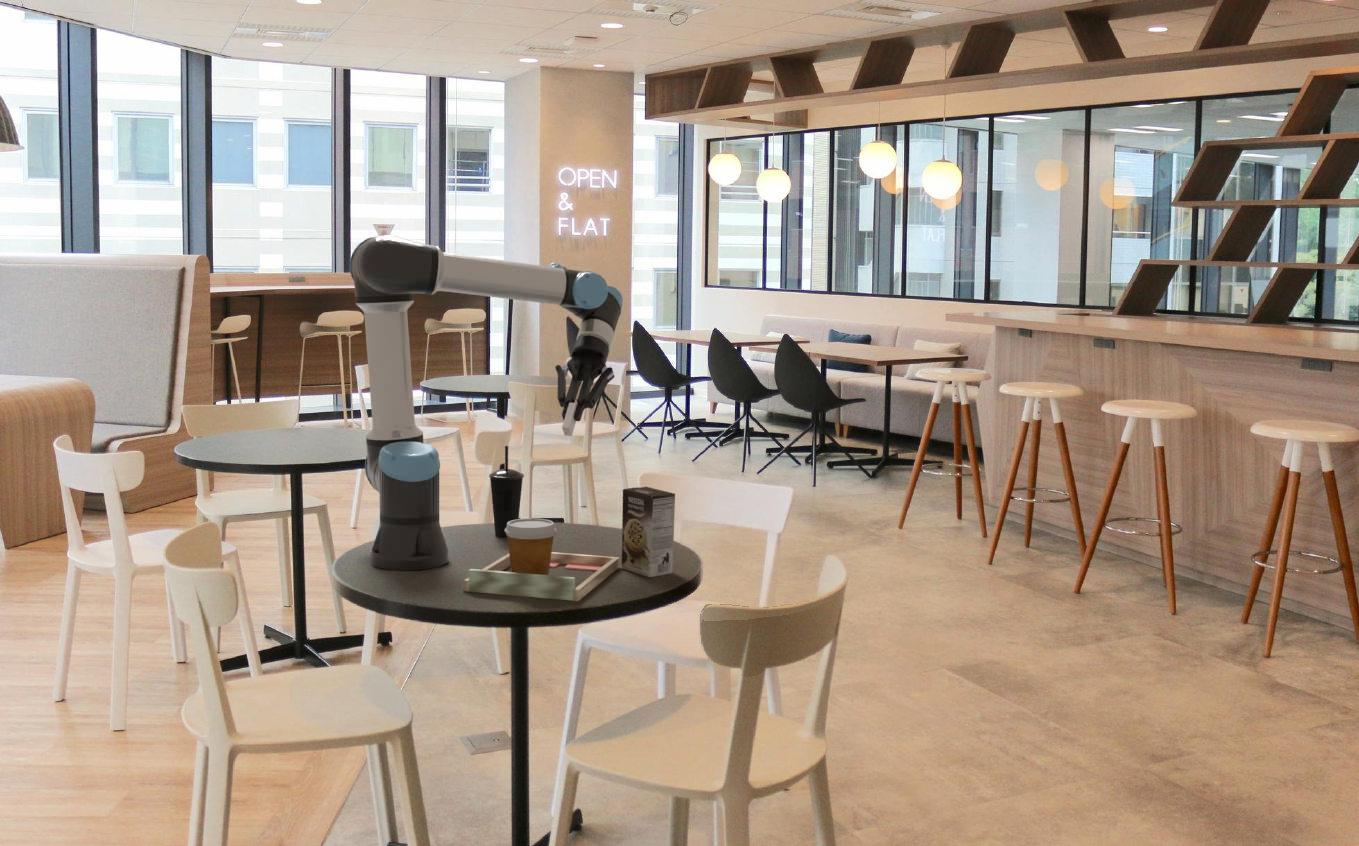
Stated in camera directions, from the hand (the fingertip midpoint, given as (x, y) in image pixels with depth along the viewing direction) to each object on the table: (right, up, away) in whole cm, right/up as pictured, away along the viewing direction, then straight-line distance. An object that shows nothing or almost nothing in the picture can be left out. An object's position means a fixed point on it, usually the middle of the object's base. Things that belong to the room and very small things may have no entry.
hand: (566, 431), depth 241 cm
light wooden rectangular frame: (-3, -28, -15) cm, 32 cm away
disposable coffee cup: (-5, -29, -20) cm, 36 cm away
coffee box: (+17, -28, -7) cm, 33 cm away
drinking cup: (-16, -23, +22) cm, 36 cm away
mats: (0, -27, -5) cm, 27 cm away
